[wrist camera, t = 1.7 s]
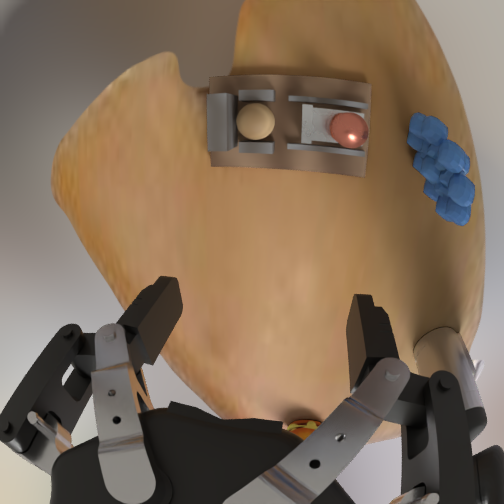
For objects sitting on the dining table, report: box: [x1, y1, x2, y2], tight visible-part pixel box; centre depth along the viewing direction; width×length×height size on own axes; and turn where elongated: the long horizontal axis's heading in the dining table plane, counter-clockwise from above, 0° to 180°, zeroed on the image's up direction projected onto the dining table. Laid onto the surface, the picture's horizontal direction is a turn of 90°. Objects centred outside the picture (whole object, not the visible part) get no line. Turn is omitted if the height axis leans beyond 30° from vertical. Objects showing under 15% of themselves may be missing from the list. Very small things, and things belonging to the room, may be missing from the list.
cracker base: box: [207, 75, 371, 177], centre depth 26 cm, size 18×11×6 cm, turn 90°
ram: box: [301, 104, 369, 148], centre depth 23 cm, size 6×4×8 cm, turn 90°
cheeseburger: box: [287, 420, 322, 440], centre depth 55 cm, size 10×11×10 cm
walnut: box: [236, 103, 275, 140], centre depth 26 cm, size 4×4×4 cm
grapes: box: [407, 112, 475, 226], centre depth 22 cm, size 12×7×12 cm, turn 25°
